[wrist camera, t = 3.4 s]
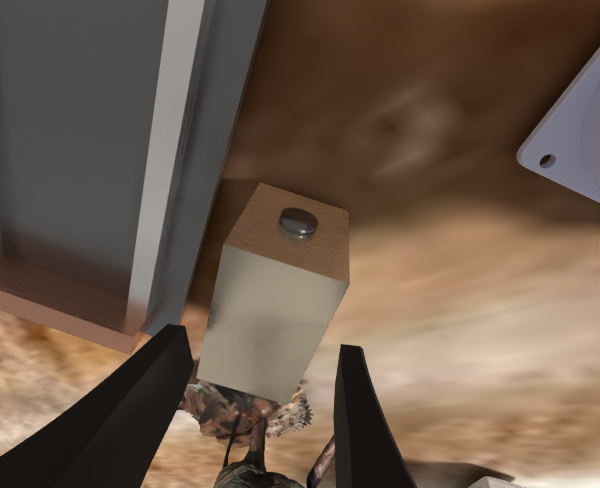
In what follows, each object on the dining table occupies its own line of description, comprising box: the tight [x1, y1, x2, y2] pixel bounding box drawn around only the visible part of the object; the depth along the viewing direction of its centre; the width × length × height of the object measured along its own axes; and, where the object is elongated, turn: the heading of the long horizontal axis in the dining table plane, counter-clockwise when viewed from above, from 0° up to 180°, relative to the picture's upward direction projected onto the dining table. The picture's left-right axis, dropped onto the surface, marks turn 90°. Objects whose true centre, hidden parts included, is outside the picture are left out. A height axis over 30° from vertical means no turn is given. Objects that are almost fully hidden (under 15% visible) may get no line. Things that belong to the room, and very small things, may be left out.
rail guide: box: [0, 0, 271, 355], centre depth 12 cm, size 12×21×3 cm, turn 158°
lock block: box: [196, 182, 350, 405], centre depth 14 cm, size 4×7×5 cm, turn 163°
